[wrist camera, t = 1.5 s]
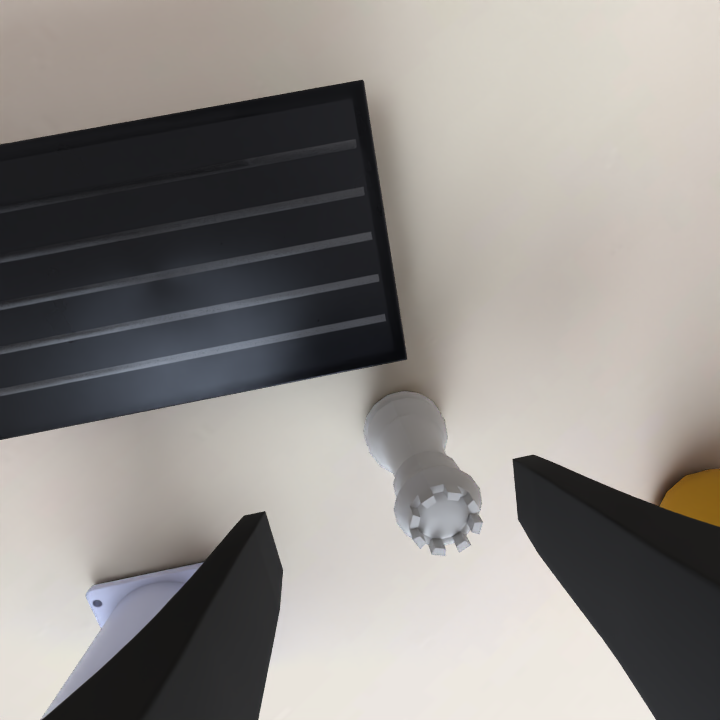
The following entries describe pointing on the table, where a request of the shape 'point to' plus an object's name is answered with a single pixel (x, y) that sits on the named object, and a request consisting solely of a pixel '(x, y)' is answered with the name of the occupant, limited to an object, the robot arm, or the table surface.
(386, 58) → the table surface
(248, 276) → the slatted rack
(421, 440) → the rook chess piece
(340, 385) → the table surface
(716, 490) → the apple
